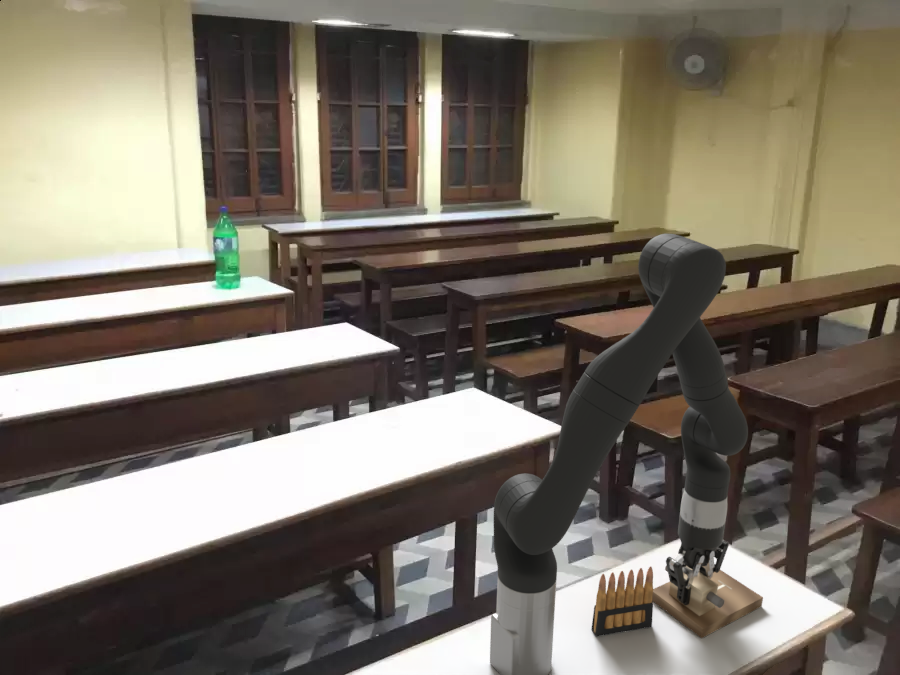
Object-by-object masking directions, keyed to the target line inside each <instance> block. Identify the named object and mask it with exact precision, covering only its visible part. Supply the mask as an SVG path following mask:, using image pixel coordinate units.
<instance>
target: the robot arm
mask: <svg viewBox="0 0 900 675" xmlns="http://www.w3.org/2000/svg"><path fill="white" fill-rule="evenodd" d="M641 250H642V251H641V253H640V255H639V260H638V265H637V266H638V267H637V268H638V275H639V279H640V281H641V284H642V287H643V288H644V290H645V293H646V296H647V297H648V298H649V301H650V303H651V305H652V307H653V308H652V310H651V311H650V313H649V314H648V316H647V317H646V318H645V319H644V321H643V322H642V323H641V324H640V325H639V326H638V327H637V328H636V329H635V330H634V331H632V332H631V333H629V334H628V335H626V336H625V337H623V338H622V339H621V340H619V341H617V342H615V343H614V344H612V345H611V346H610V347H608V348H607V349H605V350H603V351H602V352H601V353H599V355H596V357H595V358H594V359H593V360H591V362H590V363H589V364H588V365H587V367H586V368H585V370H584V372H583V373H582V375H581V377H580V378H579V380H578V381H577V383H576V384H575V387H574V388H573V390H572V392H571V393H570V395H569V397H568V399H567V402H566V404H565V408H564V412H563V416H562V417H563V418H562V422H561V425H560V426H561V427H560V432H559V437H558V443H557V447H556V451H555V454H554V457H553V459H552V462H551V464H550V466H549V467H548V470H547V472H545V473H546V474H544V477H543V478H541V477H539V476H537V475H535V474H532V473H519V474H516V475H513V476H511V477H510V478H508V479H507V480H505V481H504V483H503V484H502V485H500V488H498V491H497V493H496V496H495V499H494V504H493V549H494V550H493V551H494V556H495V557H494V558H495V561H496V566H497V582H496V583H497V588H496V609H495V611H496V613H493V614H491V615H490V616H491V617H490V647H489V649H490V650H489V664H490V665H492V667H493V668H494V669H495V670H496V671H497V673H498V674H499V675H550V673H551V670H552V658H553V657H552V656H553V646H554V645H553V643H554V628H555V627H554V625H555V612H556V611H555V608H556V593H557V578H558V576H557V575H558V562H557V558H556V555H555V553H554V550H553V548H555V547H556V546H557V545H558V544H559V543H560V541H562V539H563V538H564V537H565V535H566V534H567V532H568V530H569V529H570V528H571V525H572V524H573V521H574V520H575V518H576V515H577V513H578V510H579V508H580V506H581V504H582V502H583V501H584V498H585V497H586V495H587V493H588V491H589V488H590V486H591V484H592V482H593V481H594V479H595V477H596V475H597V474H598V472H599V471H600V469H601V468H602V467H603V464H604V462H605V460H606V459H607V457H608V456H609V454H610V452H611V450H612V448H613V447H614V445H615V444H616V442H617V441H618V439H619V437H620V436H621V434H622V433H623V431H624V430H625V428H626V427H627V426H628V424H629V423H630V421H631V419H632V418H633V417H634V415H635V413H636V412H637V410H638V408H639V407H640V405H641V404H642V402H643V400H644V399H645V397H646V395H647V394H648V392H649V390H650V388H651V386H652V385H653V383H654V382H655V380H656V379H657V377H658V376H659V374H660V373H661V371H662V370H663V369H664V367H665V365H666V363H667V362H668V361H669V359H670V358H671V357H673V360H674V363H675V367H676V371H677V375H678V380H679V384H680V387H681V391H682V395H683V396H682V397H683V398H684V400H685V402H686V404H687V405H688V406H689V407H687V409H686V410H685V411H684V414H683V416H682V419H681V423H680V436H681V442H682V448H683V455H684V460H685V464H686V471H685V472H686V474H685V480H684V481H685V482H684V489H683V493H682V498H681V502H680V509H679V511H680V512H679V517H678V518H679V520H678V526H677V528H678V529H677V536H678V538H679V541H680V547H679V549H678V551H677V552H678V554H677V555H675V557H672V556H668V557H667V558H666V560H665V563H666V564H665V565H667V569H668V572H667V574H668V579H669V582H671V583H673V584H674V585H676V586H677V587H678V590H677V599H678V600H679V601H680V602H681V603H683V604H684V605H688V604H689V602H690V594H691V586H692V583H693V580H694V577H697V576H698V572H700V573H701V574H703V575H704V576H706V577H707V578H709V579H711V578H712V576H713V573H714V572H716V573H718V572H719V570H721V568H722V565H723V562H724V560H725V556H726V554H727V551H728V549H729V546H730V544H729V542H727V541H726V540H724V535H725V528H726V522H727V514H728V493H729V487H730V481H731V468H730V466H729V464H728V463H727V462H726V461H725V459H723V458H721V456H725V457H729V456H734V455H736V454H738V453H739V452H741V451H742V450H743V449H744V447H745V445H746V444H747V441H748V437H749V427H748V423H747V419H746V416H745V415H744V413H743V411H742V408H741V407H740V406H739V403H738V402H737V399H736V398H735V396H734V394H733V393H732V392H731V390H730V387H729V382H728V378H727V377H728V376H727V373H726V368H725V364H724V361H723V357H722V355H721V352H720V350H719V348H718V345H717V344H716V342H715V340H714V338H713V337H712V335H711V334H710V332H709V331H708V329H707V327H706V326H705V324H704V323H703V320H702V318H701V316H702V315H703V314H704V313H705V312H706V310H707V309H708V307H709V306H710V305H711V303H712V302H713V301H714V299H715V297H717V295H718V293H719V291H720V289H721V287H722V285H723V282H724V280H725V276H726V269H727V263H726V259H725V256H724V255H723V254H722V252H721V251H719V250H718V249H716V248H714V247H712V246H710V245H708V244H707V245H706V244H705V243H701V242H699V241H696V240H694V239H691V238H688V237H685V236H682V235H678V234H675V233H662V234H659V235H656V236H654V237H652V238H651V239H650V240H649V241H648V242H647V243H646V244H645V246H644V247H643V249H641ZM719 455H721V456H719ZM715 560H716V562H715ZM687 566H688V567H689V568H691V569H692V570H691V569H689V568H688V567H687ZM685 574H686V575H687V576H688V578H687V580H686V579H685V578H684V575H685Z"/></svg>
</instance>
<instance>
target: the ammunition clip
mask: <svg viewBox="0 0 900 675" xmlns="http://www.w3.org/2000/svg"><path fill="white" fill-rule="evenodd" d="M645 575H646V577H644V576H645ZM645 575H644V570H643V567H640V568H639V569H638V572H637V575H636V581H635V575H634V571H633V569H630V570H629V572H628V574H627V577H626V578H627V579H626V578H625V573H624V570H621V571H620V573H619V575H618V577H617V578H618V579H617V584H616V577H615V573H614V572H611V573H610V576H609V579H608V583H607V580H606V575H605V574H604V573H602V574H601V576H600V578H599V582H598V588H597V593H596V598H595V600H596V601H595V605H594V608H593V614H592V622H591V623H592V624H591V631H592V632H593V635H594V636H595V637H602V636H608V635H615V634H620V633H624V632H625V631H626V632H631V631H636V630H641V629H646V628H647V629H649V628H652V626H653V614H654V613H653V612H654V602H653V601H652V596H653V589H654V586H653V584H654V571H653V567H652V566H651V565H650V566H649V567H648V569H647V571H646V574H645ZM644 578H645V582H644ZM625 580H626V582H625ZM606 587H607V588H606Z"/></svg>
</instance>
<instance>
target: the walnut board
mask: <svg viewBox="0 0 900 675" xmlns="http://www.w3.org/2000/svg"><path fill="white" fill-rule="evenodd" d="M710 580H712V581H713V582H715V583H716V584H718V590H717V596H719V597H720V598H722V599H723V600H724V604H723V606H722V607H721V608H719V607H717V606H716V605H715V608H714V609H712V610H711V611H709V612H707V613H705V614H703V615H701V616H699V615H697V614H696V613H694V612H693V611H692V610H690V609H689V608H688V607H686V606H685V605H683V604H682V603H681V602H679V601H678V600H677V599H675V598H674V597H672V596H671V595H670V594H669V590H670V581H668V582H665V583H663V584H661V585H659V586H657V587H655V588H653V596H652V602H653V604H654V603H655V604H656V605H657V606H658V607H660V608H661V609H662V610H664V611H665V612H666V613H667V614H669V615H670V616H671V617H673V618H674V619H676V621H677V622H679V623H680V624H682V625H683V626H685V627H686V628H688V629H689V630H690V631H691V632H693V633H694V634H695V635H696V636H698V637H699V638H701V639H703V638H705V637H706V636H709V635H710V634H712V633H714V632H716V631H718V630H720V629H722V628H724V627H726V626H727V625H730V624H731V623H734V622H735V621H737V620H739V619H741V618H743V617H744V616H747V615H748V614H750V613H752V612H754V611H756V610H758V609H759V608H762V606H763V601H764V600H763V599H764V597H763V596H762V595H760V594H758V593H757V592H756V591H754V590H753V589H751V588H749V587H747V586H746V585H745V584H743V583H742V582H740V581H739V580H737V579H735V578H734V577H733V576H730V575H729V573H726V572H725V571H723V570H721V569H720V570H719V572H718V573H716V572H714V573H713V576H712V578H711V579H710Z"/></svg>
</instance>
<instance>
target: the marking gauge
mask: <svg viewBox="0 0 900 675" xmlns="http://www.w3.org/2000/svg"><path fill="white" fill-rule="evenodd" d="M665 565H666V566H665V567H664V568H665V569H664V570H665V571H666V572H667V573H668V569H667V564H665ZM687 567H688V566H687ZM688 568H689V567H688ZM689 569H691V568H689ZM691 570H692V569H691ZM684 578H685V579H686V580H687V578H688V576H687V575H686V574H685V575H684ZM669 582H670V581H669ZM677 590H678V587H677V586H676V585H674V584H673V583H671V582H670V590H669V594H670V595H671V596H672V597H674V598H675V599H677ZM717 590H718V584H716V583H715V582H713V581H712V580H710V579H709V578H707V577H706V576H704V575H703V574H701V573H700V572H698V576H697V577H694V580H693V583H692V586H691V594H690V602H689V604H688V605H685V606H686V607H688V608H689V609H690V610H692V611H693V612H694V613H696V614H697V615H699V616H701V615H703V614H705V613H707V612H709V611H711V610H712V609H714V608H715V605H716V606H717V607H719V608H721V607H722V606H723V604H724V600H723V599H722V598H720V597H719V596H717ZM677 600H678V599H677ZM678 601H679V600H678ZM679 602H680V601H679ZM682 604H683V603H682ZM683 605H684V604H683Z"/></svg>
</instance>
